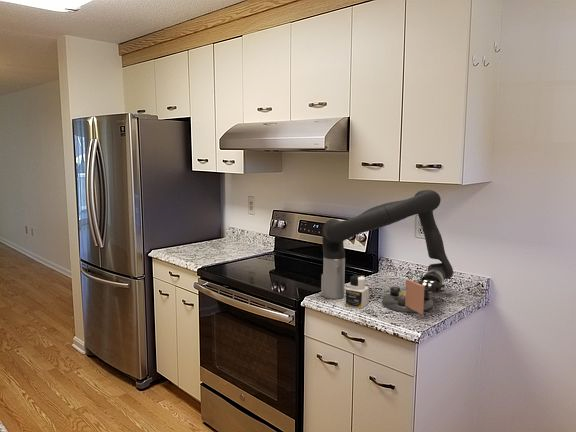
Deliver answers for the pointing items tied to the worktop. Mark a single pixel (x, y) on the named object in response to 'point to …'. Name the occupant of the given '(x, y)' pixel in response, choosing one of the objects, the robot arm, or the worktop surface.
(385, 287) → the worktop surface
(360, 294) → the medicine bottle
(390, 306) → the levelling base
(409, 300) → the terracotta flat panel
